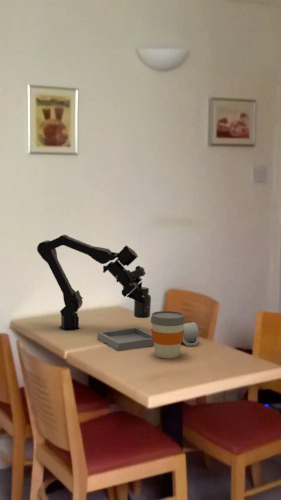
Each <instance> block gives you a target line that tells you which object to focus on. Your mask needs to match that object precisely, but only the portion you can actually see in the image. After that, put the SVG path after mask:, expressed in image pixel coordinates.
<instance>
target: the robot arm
mask: <svg viewBox="0 0 281 500" xmlns="http://www.w3.org/2000/svg"><path fill="white" fill-rule="evenodd" d="M61 246H65V247H67V248H70V249H72V250H74V251H76V252H79V253H82V254H85V255H87V256H89V257H90V258H91V259H93V260H94V261H96V262H97V263H99V264H101V265H103V266H102V273H106V272H107V271H108V272H109V273H110V274H111V275H112V276H113V278H115V282H116V283H119V284H120V285H121V286H122V290H121V295H122V296H123V297H124V298H125V297H126V298H129V299H131V300H136V301H138V302H141V303H143V304H144V303H145V300H144V299H143V297H142V296H141V294H140V293H139V291H138V288H139V287H143V281H142V280H143V279H142V277H144V276H145V275H146V271H145V268H144V267H143V266H142V267H141V266H140V265H138V266H136V267H135V269H134V270H132V271H131V270H130V269H126V268H125V267H126V266H127V267H129V266H130V265H131V264H133V263H134V261H135V260H137V258H139V256H138V254H137V252H136V251H135V250H133V248H130V247H129V246H128V245H127V244H126V245H125V246H124V247H123V248H122V249H121V250H120V251H119V252H114V251H111V250H110V249H109V248H105V247H101V246H94V245H92V244H88V243H86V242H83V241H81V240H79V239H75V238H73V237H71V236H69V235H67V234H62V235H60V236H58V237H57V238H54V239H52V240H49V239H47V240H43V241H41V242H39V243H38V245H37V247H36V252H37V253H38V254H39V256H40V257H41V259H43V260H44V261H45V262H46V263H47V265H48V266H49V269H50V271H51V273H52V275H53V277H54V278H55V281H56V282H57V285H58V286H59V288H60V291H61V294H62V297H63V303H64V307H63V308H61V310H60V311H59V312H60V314H61V317H60V318H61V319H60V321H61V322H60V323H61V325H59V328H61V329H63V330H64V331H70V330H71V331H72V330H79V329H80V322H79V321H80V317H79V316H78V315H79V314H78V310H79V309H81V307H82V306H83V296H82V295H81V294H80V291H79V289H78V290H75V289H73V287H72V285H71V283H70V281H69V279H68V277H67V274H66V273H65V271H64V270H63V266H62V264H61V263H60V261H59V259H58V254H57V253H58V252H57V248H59V247H61ZM105 264H106V265H105Z"/></svg>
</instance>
